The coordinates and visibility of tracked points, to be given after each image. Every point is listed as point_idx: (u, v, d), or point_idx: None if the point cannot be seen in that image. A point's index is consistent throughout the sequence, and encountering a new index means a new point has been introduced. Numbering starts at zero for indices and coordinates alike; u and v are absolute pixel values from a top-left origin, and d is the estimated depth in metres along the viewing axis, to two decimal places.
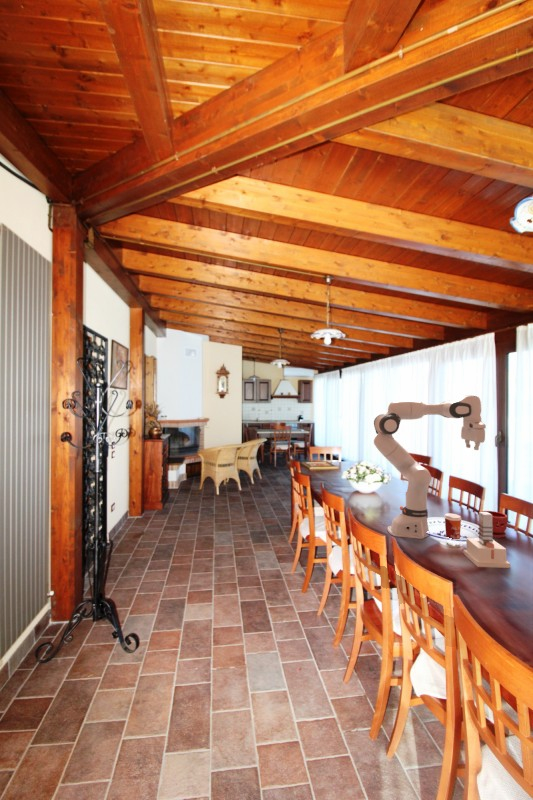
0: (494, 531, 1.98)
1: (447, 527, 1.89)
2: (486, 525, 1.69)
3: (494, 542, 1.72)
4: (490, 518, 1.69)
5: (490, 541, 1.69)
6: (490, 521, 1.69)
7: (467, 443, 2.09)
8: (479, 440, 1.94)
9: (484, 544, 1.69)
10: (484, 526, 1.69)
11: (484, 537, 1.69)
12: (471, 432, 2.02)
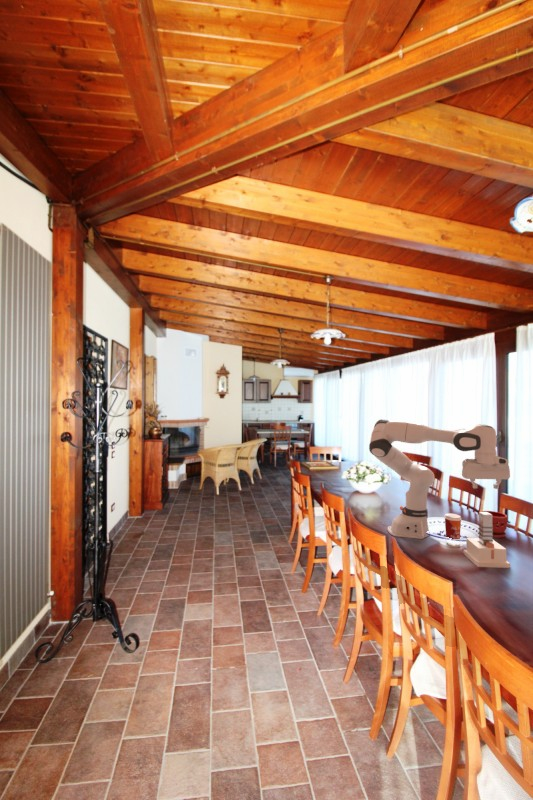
0: (494, 531, 1.98)
1: (447, 527, 1.89)
2: (486, 525, 1.69)
3: (494, 542, 1.72)
4: (490, 518, 1.69)
5: (490, 541, 1.69)
6: (490, 521, 1.69)
7: None
8: None
9: (484, 544, 1.69)
10: (484, 526, 1.69)
11: (484, 537, 1.69)
12: (492, 469, 1.69)
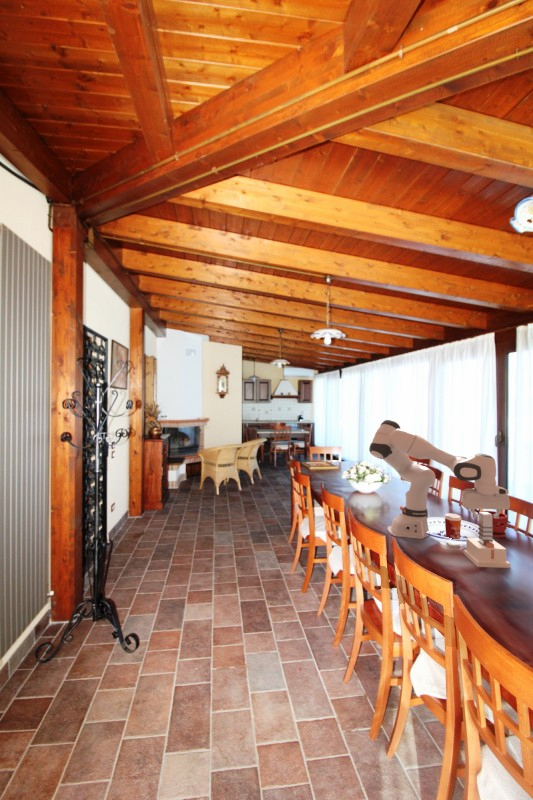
0: (494, 531, 1.98)
1: (447, 527, 1.89)
2: (486, 525, 1.69)
3: (494, 542, 1.72)
4: (490, 518, 1.69)
5: (490, 541, 1.69)
6: (490, 521, 1.69)
7: None
8: None
9: (484, 544, 1.69)
10: (484, 526, 1.69)
11: (484, 537, 1.69)
12: (492, 499, 1.69)
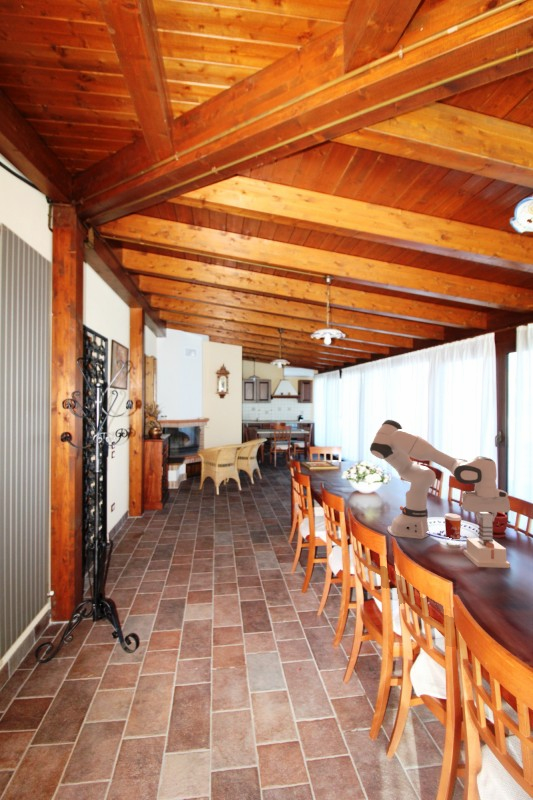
0: (494, 531, 1.98)
1: (447, 527, 1.89)
2: (486, 525, 1.69)
3: (494, 542, 1.72)
4: (490, 518, 1.69)
5: (490, 541, 1.69)
6: (490, 521, 1.69)
7: None
8: None
9: (484, 544, 1.69)
10: (484, 526, 1.69)
11: (484, 537, 1.69)
12: (492, 501, 1.69)
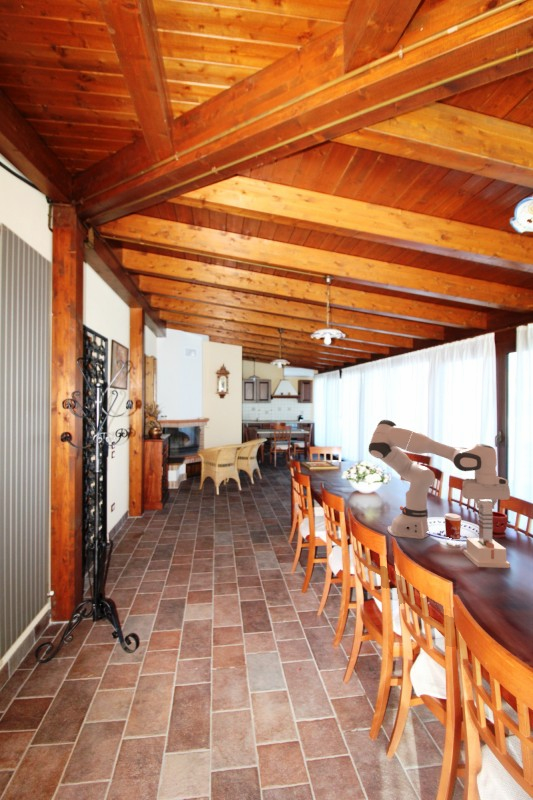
0: (494, 531, 1.98)
1: (447, 527, 1.89)
2: (486, 512, 1.69)
3: (494, 542, 1.72)
4: (490, 506, 1.69)
5: (490, 528, 1.69)
6: (490, 508, 1.69)
7: None
8: None
9: (484, 531, 1.69)
10: (484, 513, 1.69)
11: (484, 524, 1.69)
12: (492, 489, 1.69)
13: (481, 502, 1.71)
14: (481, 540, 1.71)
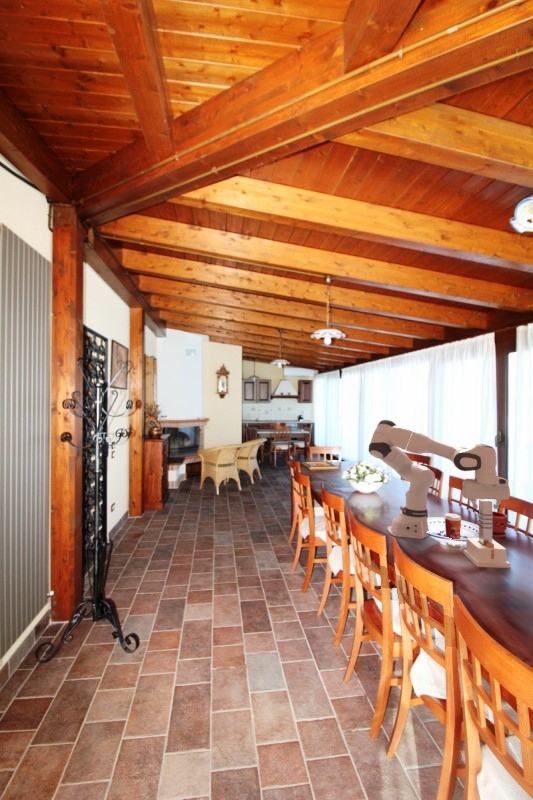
0: (494, 531, 1.98)
1: (447, 527, 1.89)
2: (486, 512, 1.69)
3: (494, 542, 1.72)
4: (490, 505, 1.69)
5: (490, 528, 1.69)
6: (490, 508, 1.69)
7: None
8: None
9: (484, 531, 1.69)
10: (484, 513, 1.69)
11: (484, 524, 1.69)
12: (492, 489, 1.69)
13: (481, 502, 1.71)
14: (481, 540, 1.71)
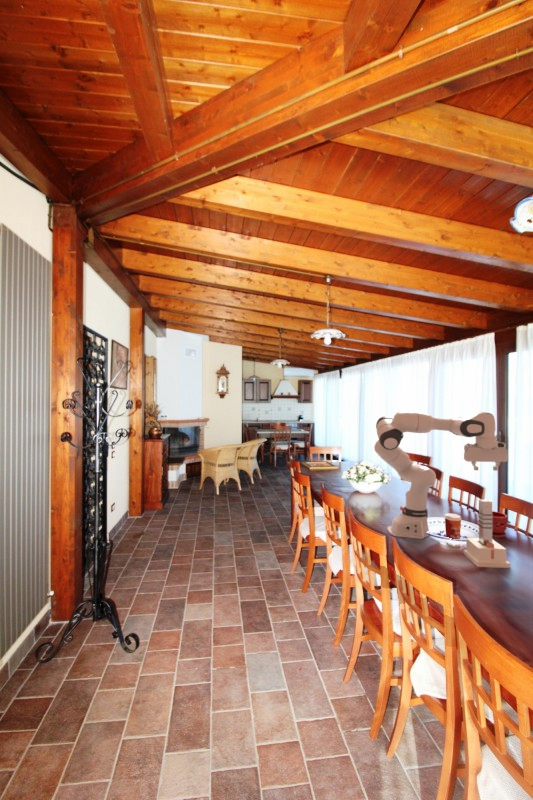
0: (494, 531, 1.98)
1: (447, 527, 1.89)
2: (486, 512, 1.69)
3: (494, 542, 1.72)
4: (490, 505, 1.69)
5: (490, 528, 1.69)
6: (490, 508, 1.69)
7: None
8: None
9: (484, 531, 1.69)
10: (484, 513, 1.69)
11: (484, 524, 1.69)
12: (492, 452, 1.85)
13: (481, 502, 1.71)
14: (481, 540, 1.71)
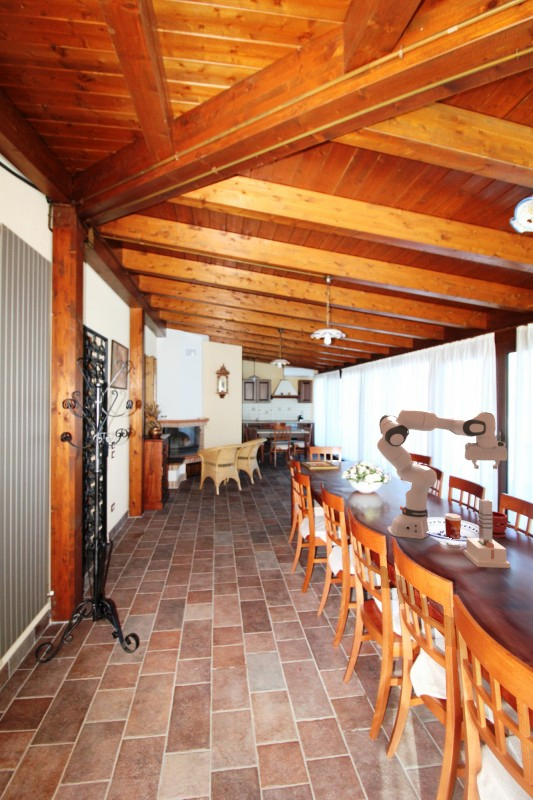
0: (494, 531, 1.98)
1: (447, 527, 1.89)
2: (486, 512, 1.69)
3: (494, 542, 1.72)
4: (490, 505, 1.69)
5: (490, 528, 1.69)
6: (490, 508, 1.69)
7: None
8: None
9: (484, 531, 1.69)
10: (484, 513, 1.69)
11: (484, 524, 1.69)
12: (492, 451, 1.90)
13: (481, 502, 1.71)
14: (481, 540, 1.71)
